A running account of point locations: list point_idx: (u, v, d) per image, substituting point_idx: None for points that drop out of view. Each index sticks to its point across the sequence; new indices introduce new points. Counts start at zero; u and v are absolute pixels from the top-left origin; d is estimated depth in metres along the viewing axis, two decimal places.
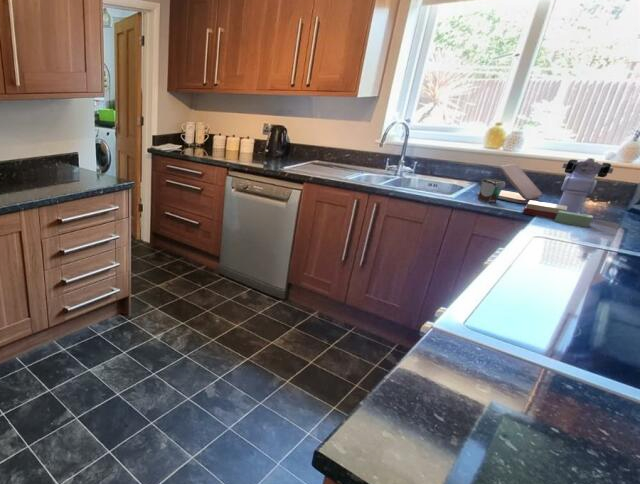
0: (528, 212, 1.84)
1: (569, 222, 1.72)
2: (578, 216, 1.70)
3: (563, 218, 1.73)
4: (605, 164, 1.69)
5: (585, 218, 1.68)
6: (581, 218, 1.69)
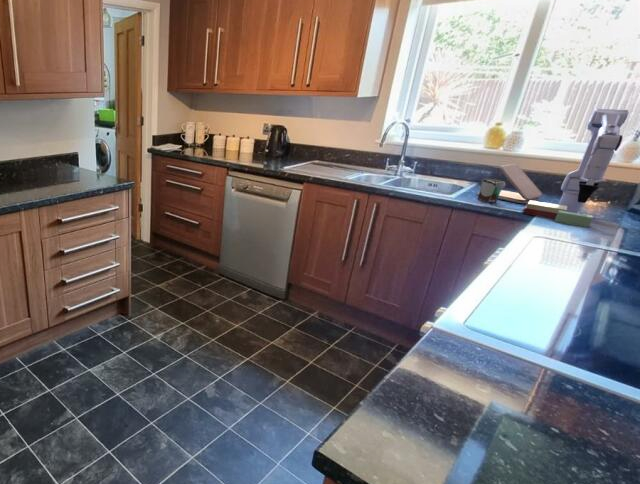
0: (528, 212, 1.84)
1: (569, 222, 1.72)
2: (578, 216, 1.70)
3: (563, 218, 1.73)
4: None
5: (585, 218, 1.68)
6: (581, 218, 1.69)
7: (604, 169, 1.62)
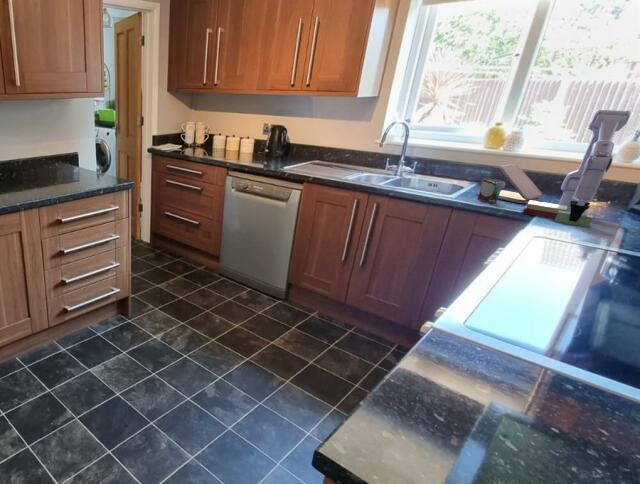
0: (528, 212, 1.84)
1: (569, 222, 1.72)
2: None
3: (563, 218, 1.73)
4: None
5: (585, 217, 1.68)
6: (581, 218, 1.69)
7: (595, 190, 1.65)
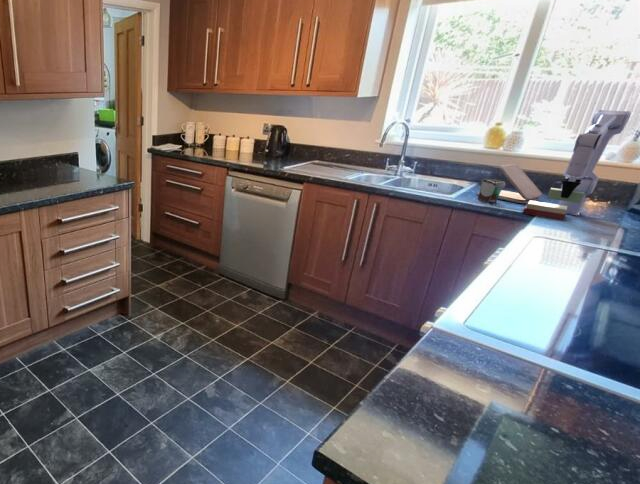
0: (528, 212, 1.84)
1: (561, 199, 1.75)
2: None
3: (555, 195, 1.76)
4: None
5: (577, 194, 1.72)
6: (573, 194, 1.73)
7: (585, 166, 1.69)
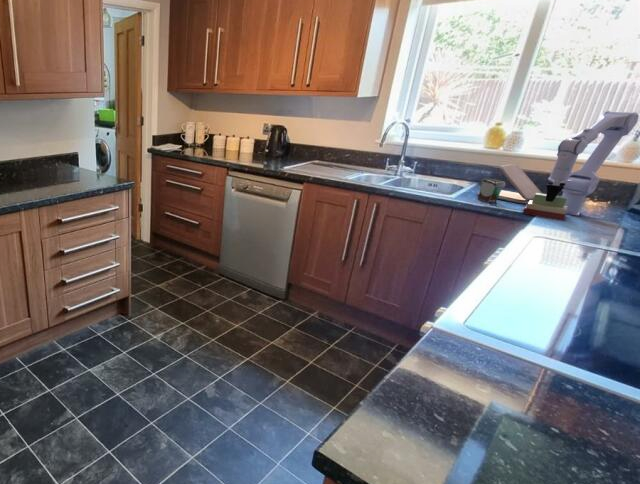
0: (528, 212, 1.84)
1: (545, 203, 1.82)
2: None
3: (540, 200, 1.83)
4: None
5: (560, 199, 1.78)
6: (556, 199, 1.79)
7: (569, 170, 1.75)
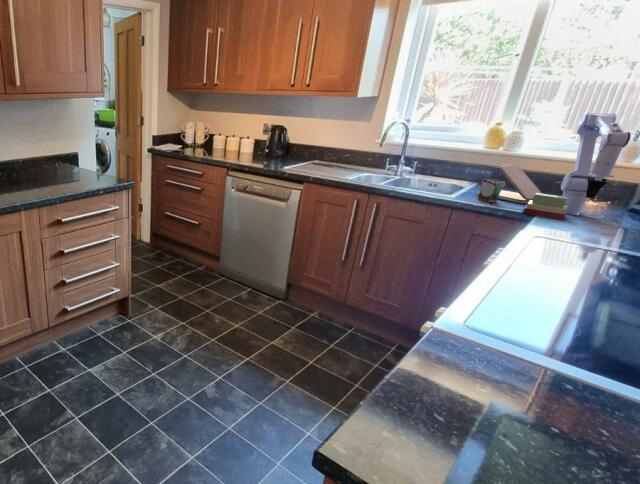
0: (528, 212, 1.84)
1: (545, 203, 1.82)
2: (553, 198, 1.80)
3: (540, 200, 1.83)
4: None
5: (560, 199, 1.78)
6: (556, 199, 1.79)
7: (612, 165, 1.66)
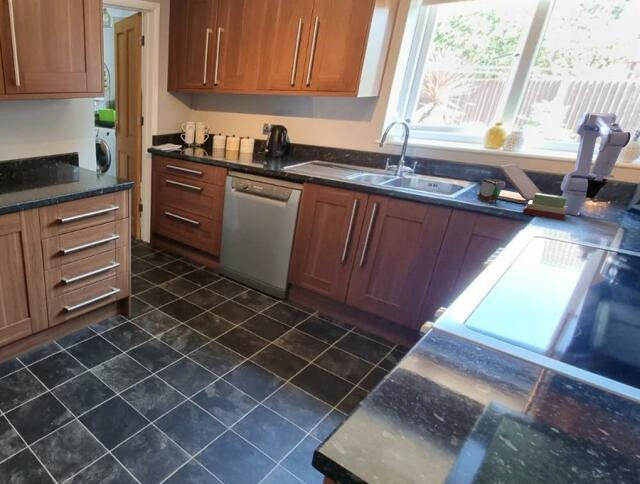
0: (528, 212, 1.84)
1: (545, 203, 1.82)
2: (553, 198, 1.80)
3: (540, 200, 1.83)
4: None
5: (560, 199, 1.78)
6: (556, 199, 1.79)
7: (612, 165, 1.66)
